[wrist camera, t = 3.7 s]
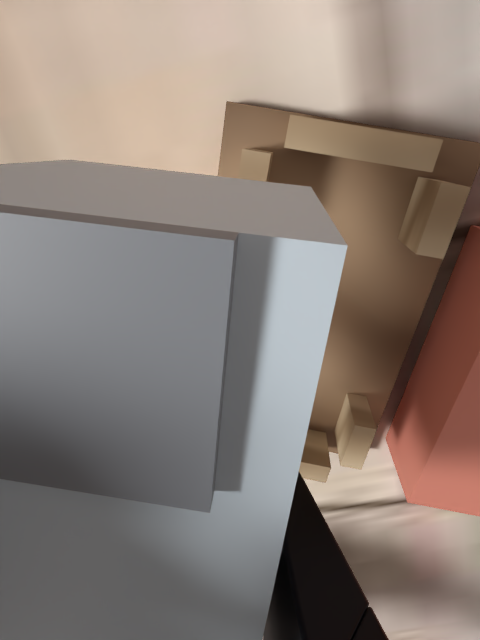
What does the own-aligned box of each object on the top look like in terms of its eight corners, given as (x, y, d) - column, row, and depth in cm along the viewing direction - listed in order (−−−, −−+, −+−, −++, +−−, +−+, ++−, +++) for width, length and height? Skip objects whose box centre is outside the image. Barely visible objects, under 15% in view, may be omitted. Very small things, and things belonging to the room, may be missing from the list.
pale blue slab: (248, 566, 13) (225, 821, 8) (102, 541, 13) (-6, 773, 8) (310, 186, 8) (353, 255, 3) (69, 159, 8) (-259, 181, 3)
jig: (362, 448, 22) (374, 496, 19) (191, 415, 22) (177, 456, 19) (478, 144, 15) (525, 143, 12) (229, 103, 16) (216, 93, 13)
